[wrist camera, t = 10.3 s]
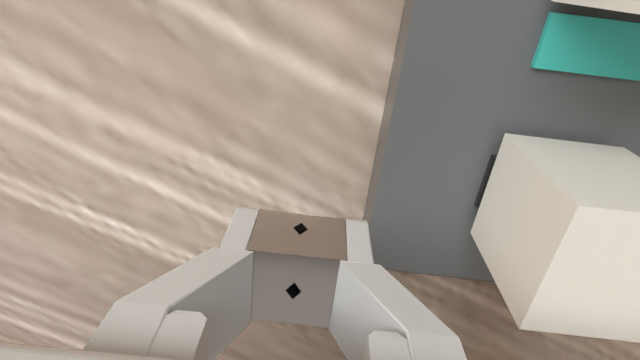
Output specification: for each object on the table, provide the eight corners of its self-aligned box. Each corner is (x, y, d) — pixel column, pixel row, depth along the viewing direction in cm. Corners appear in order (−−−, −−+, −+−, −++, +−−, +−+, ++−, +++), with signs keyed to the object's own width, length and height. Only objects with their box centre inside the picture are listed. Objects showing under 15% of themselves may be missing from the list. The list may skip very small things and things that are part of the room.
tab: (624, 147, 12) (749, 225, 8) (574, 244, 13) (661, 345, 10) (504, 133, 12) (578, 206, 8) (470, 232, 13) (518, 329, 10)
